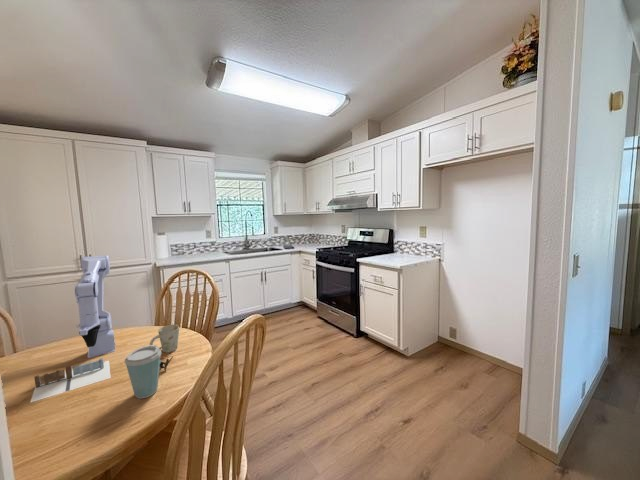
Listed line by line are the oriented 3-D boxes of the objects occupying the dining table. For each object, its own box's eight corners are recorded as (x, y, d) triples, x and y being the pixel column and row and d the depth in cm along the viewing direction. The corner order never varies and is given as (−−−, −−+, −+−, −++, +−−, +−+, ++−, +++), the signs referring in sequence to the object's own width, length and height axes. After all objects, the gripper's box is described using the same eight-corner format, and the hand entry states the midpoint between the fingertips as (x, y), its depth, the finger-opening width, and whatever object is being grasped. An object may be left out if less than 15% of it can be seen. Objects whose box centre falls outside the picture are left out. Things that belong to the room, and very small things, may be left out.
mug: (184, 347, 126) (182, 327, 125) (155, 360, 115) (154, 337, 114) (174, 343, 130) (172, 323, 129) (145, 354, 120) (144, 332, 119)
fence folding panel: (103, 366, 109) (103, 357, 109) (103, 367, 108) (103, 359, 108) (73, 374, 103) (72, 366, 103) (73, 376, 102) (72, 367, 102)
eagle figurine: (176, 360, 112) (158, 354, 114) (171, 352, 108) (151, 346, 109) (163, 379, 107) (144, 372, 108) (157, 371, 102) (137, 364, 104)
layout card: (109, 361, 114) (108, 360, 114) (110, 378, 102) (110, 377, 102) (37, 380, 101) (37, 379, 101) (30, 403, 89) (30, 402, 89)
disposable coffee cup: (137, 407, 87) (134, 362, 85) (120, 396, 92) (117, 354, 91) (169, 388, 96) (167, 348, 95) (152, 379, 101) (150, 341, 100)
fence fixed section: (72, 376, 103) (71, 365, 103) (72, 378, 102) (71, 367, 102) (35, 386, 97) (34, 375, 97) (35, 388, 96) (33, 377, 96)
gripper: (82, 308, 112) (85, 339, 113) (67, 320, 99) (71, 356, 100) (103, 305, 115) (106, 336, 116) (92, 317, 102) (95, 352, 103)
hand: (91, 345), depth 108 cm, fingers closed
